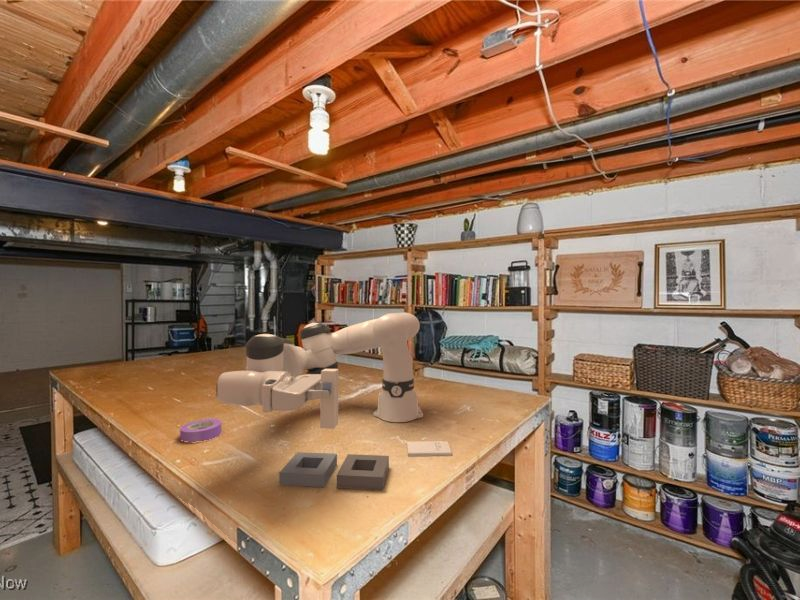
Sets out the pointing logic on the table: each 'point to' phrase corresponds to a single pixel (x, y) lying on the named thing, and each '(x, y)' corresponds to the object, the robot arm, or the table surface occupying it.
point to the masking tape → (200, 430)
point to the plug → (329, 399)
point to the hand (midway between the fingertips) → (332, 390)
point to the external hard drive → (428, 448)
